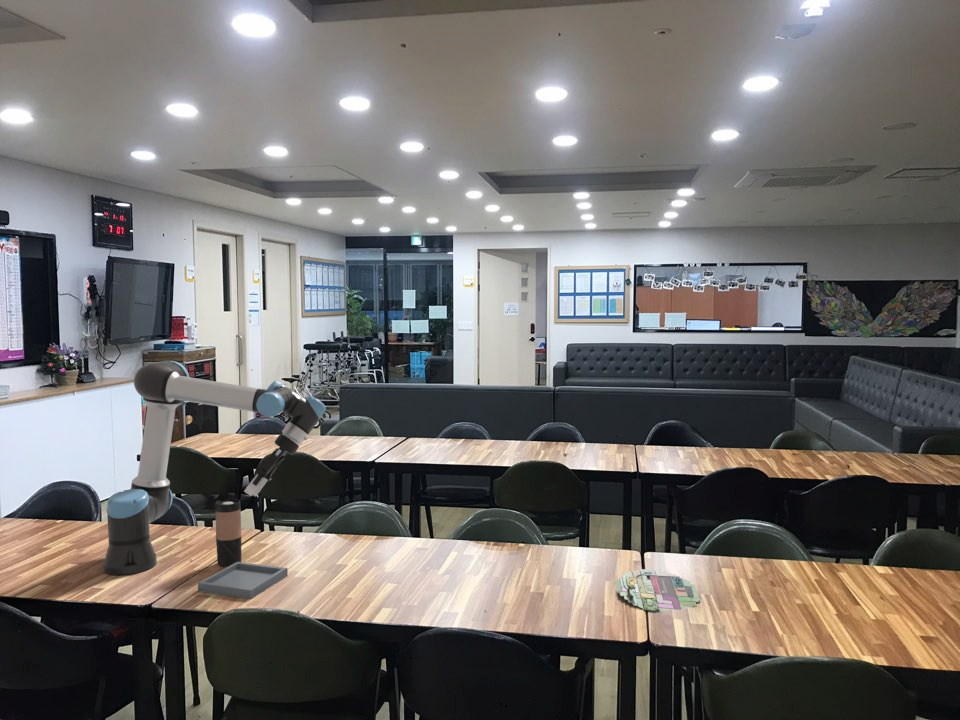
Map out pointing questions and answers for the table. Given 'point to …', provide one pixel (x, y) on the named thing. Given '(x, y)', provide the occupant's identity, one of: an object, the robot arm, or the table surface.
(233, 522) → the travel mug
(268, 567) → the slate tray
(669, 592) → the city model
